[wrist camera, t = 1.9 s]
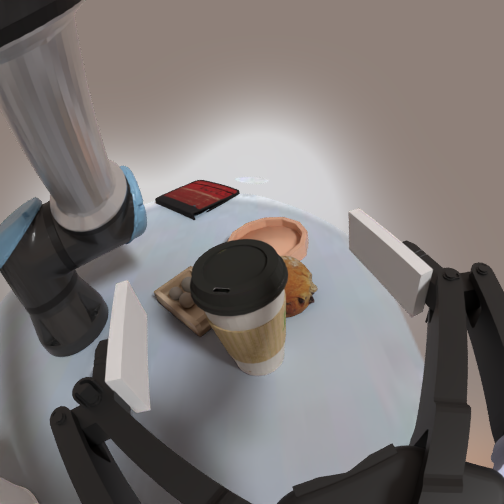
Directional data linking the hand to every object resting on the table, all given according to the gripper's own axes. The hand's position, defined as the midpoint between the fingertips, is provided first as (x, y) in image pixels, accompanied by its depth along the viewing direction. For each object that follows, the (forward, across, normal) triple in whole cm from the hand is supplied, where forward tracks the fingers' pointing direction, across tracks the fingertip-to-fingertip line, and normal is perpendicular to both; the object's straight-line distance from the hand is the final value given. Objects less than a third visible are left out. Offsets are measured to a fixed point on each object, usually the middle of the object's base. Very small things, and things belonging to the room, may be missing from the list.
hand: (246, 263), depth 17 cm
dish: (+32, +8, -22) cm, 40 cm away
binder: (+66, -2, -22) cm, 69 cm away
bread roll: (+19, +6, -22) cm, 30 cm away
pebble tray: (+24, -7, -22) cm, 33 cm away
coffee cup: (+10, 0, -22) cm, 24 cm away
